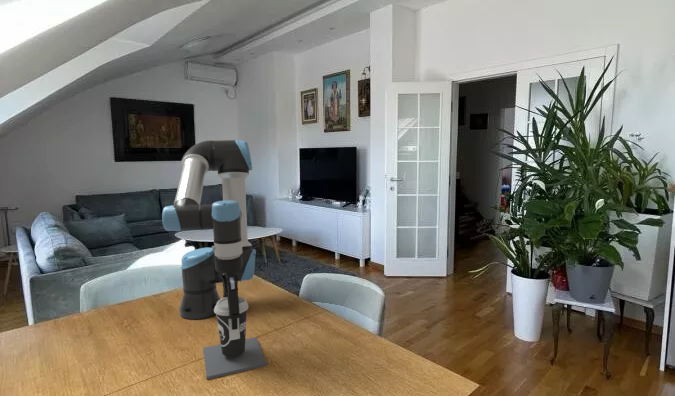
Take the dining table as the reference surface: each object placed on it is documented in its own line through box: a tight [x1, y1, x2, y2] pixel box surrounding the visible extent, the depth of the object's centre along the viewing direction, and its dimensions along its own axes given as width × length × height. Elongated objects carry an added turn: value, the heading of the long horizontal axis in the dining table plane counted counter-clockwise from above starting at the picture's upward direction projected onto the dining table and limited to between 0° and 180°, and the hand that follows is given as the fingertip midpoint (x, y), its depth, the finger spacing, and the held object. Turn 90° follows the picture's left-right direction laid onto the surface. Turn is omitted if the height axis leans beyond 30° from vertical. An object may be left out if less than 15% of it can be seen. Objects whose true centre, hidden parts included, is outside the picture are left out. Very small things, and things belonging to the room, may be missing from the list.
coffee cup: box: [214, 295, 249, 357], centre depth 108 cm, size 10×10×15 cm
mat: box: [202, 336, 268, 381], centre depth 109 cm, size 16×16×1 cm
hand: (232, 330), depth 108 cm, fingers closed on coffee cup, 9 cm apart
